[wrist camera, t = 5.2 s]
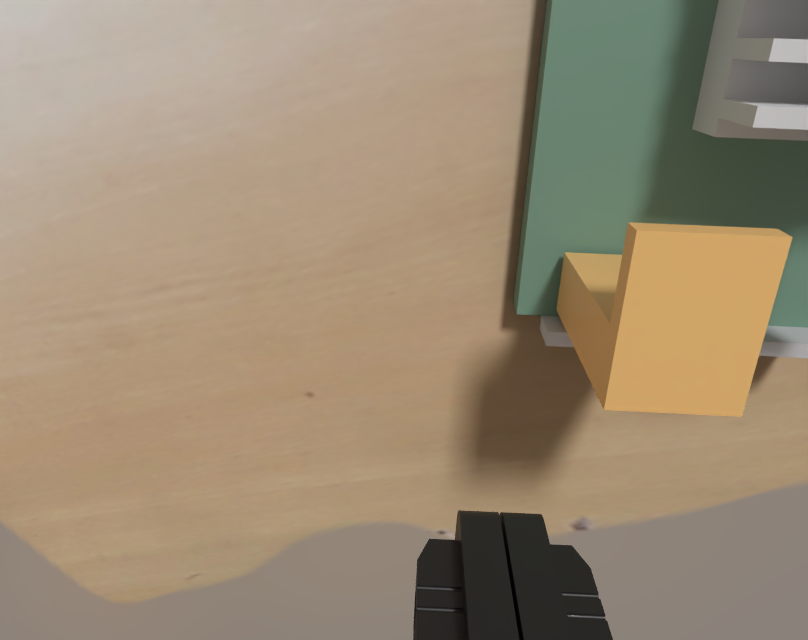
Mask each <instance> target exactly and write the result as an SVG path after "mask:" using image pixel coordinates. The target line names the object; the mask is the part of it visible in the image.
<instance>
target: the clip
mask: <svg viewBox="0 0 808 640" xmlns="http://www.w3.org/2000/svg"><path fill="white" fill-rule="evenodd" d="M792 238H793V237H792V236H790V235H788V234H786V233H784V232H782V231H781V230H779V229H772V228H748V227H725V226H702V225H678V224H655V223H632V222H628V226H627V231H626V237H625V242H624V248H623V254H622V255H615V254H592V253H569V252H564V259H563V266H562V273H561V280H560V287H559V294H558V302H557V309H556V310H557V312H558V314H559V317H560V319H561V321H562V323H563V325H564V327H565V329H566V331H567V333H568V336H569V338H570V340H571V342H572V344H573V346H574V348H575V350H576V352H577V354H578V357H579V359H580V361H581V363H582V365H583V367H584V369H585V371H586V373H587V376H588V378H589V380H590V382H591V384H592V386H593V388H594V390H595V392H596V395H597V397H598V399H599V401H600V403H601V405H602V407H603V409H604V410H614V411H635V412H657V413H678V414H699V415H720V416H741V417H742V414H743V410H744V407H745V403H746V400H747V396H748V393H749V389H750V386H751V382H752V379H753V375H754V372H755V368H756V365H757V361H758V358H759V354H760V350H761V347H762V343H763V340H764V336H765V333H766V329H767V326H768V322H769V319H770V315H771V312H772V308H773V305H774V301H775V298H776V294H777V291H778V287H779V283H780V280H781V276H782V273H783V269H784V266H785V262H786V259H787V255H788V252H789V248H790V245H791V241H792Z"/></svg>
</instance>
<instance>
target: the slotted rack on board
mask: <svg viewBox="0 0 808 640" xmlns="http://www.w3.org/2000/svg"><path fill="white" fill-rule="evenodd" d="M628 222H632V223H655V224H678V225H702V226H725V227H748V228H772V229H779V230H781V231H782V232H784V233H786V234H788V235H790V236H792V237H793V238H792V241H791V245H790V248H789V252H788V255H787V259H786V262H785V266H784V269H783V273H782V276H781V280H780V283H779V287H778V291H777V294H776V298H775V301H774V305H773V308H772V312H771V315H770V319H769V322H768V326H767V329H766V333H765V336H764V340H763V343H762V347H761V350H760V354H759V356H774V357H796V358H808V0H547V1H546V10H545V20H544V29H543V38H542V47H541V56H540V65H539V74H538V83H537V92H536V101H535V110H534V119H533V128H532V137H531V146H530V155H529V164H528V173H527V182H526V191H525V200H524V209H523V218H522V227H521V236H520V245H519V255H518V264H517V273H516V282H515V291H514V300H513V305H514V308H515V311H516V314H518V315H540V316H541V322H540V331H541V334H542V337H543V339H544V342H545V344H546V346H556V347H574V346H573V344H572V342H571V340H570V338H569V336H568V333H567V331H566V329H565V327H564V325H563V323H562V321H561V319H560V317H559V314H558V312H557V310H556V309H557V302H558V294H559V287H560V280H561V273H562V266H563V259H564V252H569V253H592V254H615V255H622V254H623V248H624V242H625V237H626V231H627V226H628Z"/></svg>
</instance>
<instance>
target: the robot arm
mask: <svg viewBox="0 0 808 640" xmlns="http://www.w3.org/2000/svg"><path fill="white" fill-rule="evenodd" d="M413 636H414V638H413V640H613V639H612V635H611V632H610V629H609V626H608V622H607V621H606V620H605V613H604V610H603V606H602V604H601V600H600V599H599V598H598V591H597V587H596V584H595V581H594V578H593V575H592V572H591V568H590V567H589V566H588V565H587V563H586V562H585V561H584V560H583V559H582V558H581V556H580V555H579V554H578V552H577V551H576V550H575V549H574V548H573V547H572V546H571V545H550V543H549V539H548V535H547V531H546V527H545V523H544V519H543V517H542V515H541V514H525V513H504V512H501V513H500V515H499V513H498V512H480V511H458V514H457V523H456V534H455V540H442V539H429V540H428V542H427V544H426V546H425V547H424V549H423V551H422V553H421V554H420V556H419V558H418V560H417V576H416V592H415V609H414V634H413Z"/></svg>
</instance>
